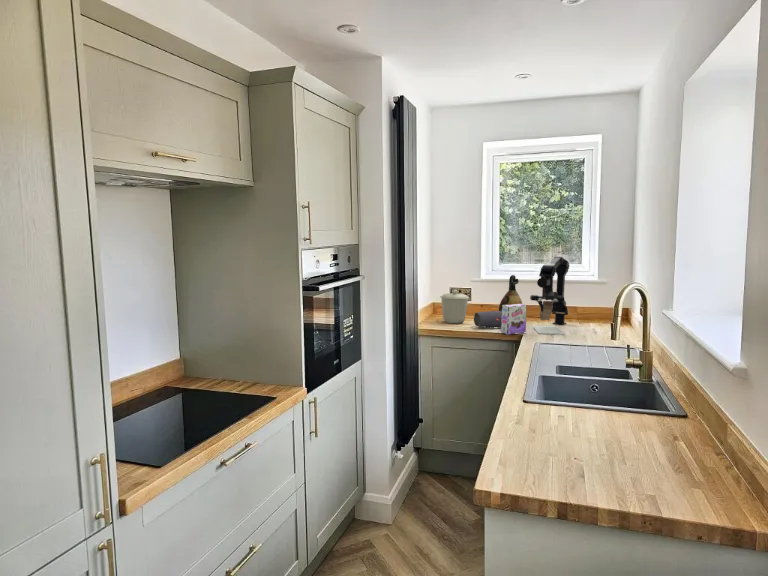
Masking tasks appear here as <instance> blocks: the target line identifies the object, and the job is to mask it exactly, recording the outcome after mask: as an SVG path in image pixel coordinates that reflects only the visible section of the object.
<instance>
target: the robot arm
mask: <svg viewBox="0 0 768 576" xmlns="http://www.w3.org/2000/svg"><path fill="white" fill-rule="evenodd" d="M569 269H570V263H569V261H568V260H566V259H564V257H563V256H554V257H553V258H552V260H551V261H550V262H549V263H545V264H543V265H542V266H541V268H540V272H539V275H538V276H539V277H540V278H538V279H537V281H536V282H537V286H538V287H539V288H541V289H542V290H541V291H542V294H541V295H538V294H531V295H530V296H529V297H530V298H529V299H530V300H531V301H534V302H537V303H538V306H539V308H540V311H541V312H542V311H543V308H542V304H543V300H544V301H552V304H553V309H552V312H551V315H554V321H553V322H552V324H553V325H559V326H560V325H561V326H562V325H566V324H567V322H565V319H566V318H565V317H566V316H568V315H569V309H568V307H567V306H568V305H567V302H566V300H565V283H566V275H567V274H568V273H569ZM555 275H556V276H557V277H556V290H555V291H554V278H555Z"/></svg>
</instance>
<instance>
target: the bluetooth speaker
mask: <svg viewBox="0 0 768 576" xmlns="http://www.w3.org/2000/svg"><path fill="white" fill-rule="evenodd" d="M501 318H502V311H499V310H490V311H478V312H475V313H474V316H473V323H474V326H476V327H481V328H482V327H483V328H484V327H486V328H485V329H495V328H494V327H501Z"/></svg>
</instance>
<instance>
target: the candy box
mask: <svg viewBox="0 0 768 576" xmlns="http://www.w3.org/2000/svg"><path fill="white" fill-rule="evenodd" d="M526 326H527V305H526V304H513V305H502V318H501V328H500V333H501V334H503V335H516V334H515V333H519V334H525V333H524V332H526V331H527V329H526V328H527V327H526Z"/></svg>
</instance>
